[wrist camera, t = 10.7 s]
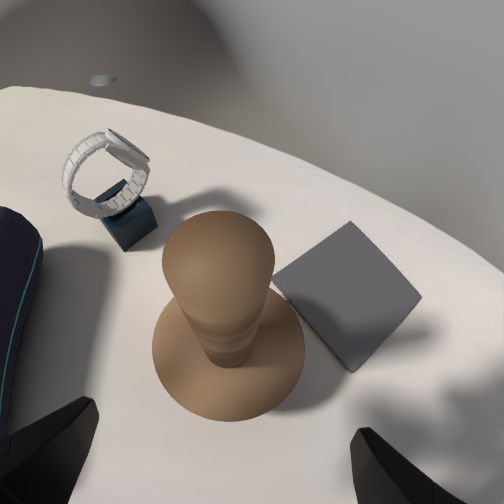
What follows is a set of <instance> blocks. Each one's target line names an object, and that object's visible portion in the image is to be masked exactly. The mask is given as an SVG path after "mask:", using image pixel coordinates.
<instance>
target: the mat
mask: <svg viewBox="0 0 504 504" xmlns="http://www.w3.org/2000/svg"><path fill="white" fill-rule="evenodd" d="M271 281H272V282H273V283H274V284H275V285H276V286H277V288H278V289H279V290H280V291H281V292H282V293H283V295H284V296H285V297H286V298H287V299H288V301H289V302H290V303H291V304H292V305H293V306H294V308H295V309H296V310H297V311H298V312H299V313H300V315H301V316H302V317H303V318H304V319H305V320H306V322H307V323H308V324H309V325H310V326H311V327H312V329H313V330H314V331H315V332H316V333H317V334H318V336H319V337H320V338H321V339H322V340H323V341H324V343H325V344H326V345H327V346H328V347H329V348H330V350H331V351H332V352H333V353H334V354H335V355H336V357H337V358H338V359H339V360H340V361H341V362H342V364H343V365H344V366H345V367H346V368H347V369H348V371H349V372H350V373H353V372H354V371H355V370H356V369H357V368H358V367H359V366H360V365H361V364H362V363H363V362H364V361H365V360H366V359H367V358H368V357H369V356H370V355H371V354H372V353H373V351H374V350H375V349H376V348H377V347H378V346H379V345H380V344H381V343H382V342H383V341H384V340H385V339H386V338H387V336H388V335H389V334H390V333H391V332H392V331H393V330H394V329H395V327H396V326H397V325H398V324H399V323H400V322H401V320H402V319H403V318H404V317H405V316H406V315H407V313H408V312H409V311H410V310H411V308H412V307H413V306H414V305H415V303H416V302H417V301H418V300H419V298H420V297H421V295H420V294H419V293H418V292H417V291H416V289H415V288H414V287H413V286H412V285H411V284H410V283H409V281H408V280H407V279H406V278H405V277H404V276H403V275H402V274H401V273H400V271H399V270H398V269H397V268H396V267H395V266H394V265H393V264H392V263H391V262H390V261H389V260H388V258H387V257H386V256H385V255H384V254H383V253H382V252H381V251H380V250H379V249H378V248H377V247H376V246H375V245H374V244H373V243H372V242H371V241H370V240H369V239H368V238H367V237H366V236H365V235H364V234H363V233H362V232H361V231H360V230H359V229H358V228H357V227H356V226H355V225H354V224H353V223H352V222H351V221H349V222H348V223H347V224H345V225H344V226H342V227H341V228H340V229H338V230H337V231H335V232H334V233H333V234H331V235H330V236H329V237H327V238H326V239H324V240H323V241H322V242H320V243H319V244H317V245H316V246H315V247H313V248H312V249H310V250H309V251H307V252H306V253H305V254H303V255H302V256H300V257H299V258H298V259H296V260H295V261H293V262H292V263H290V264H289V265H288V266H286V267H285V268H283V269H282V270H280V271H279V272H277V273H276V274H275V275H273V276H272V278H271Z"/></svg>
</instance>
